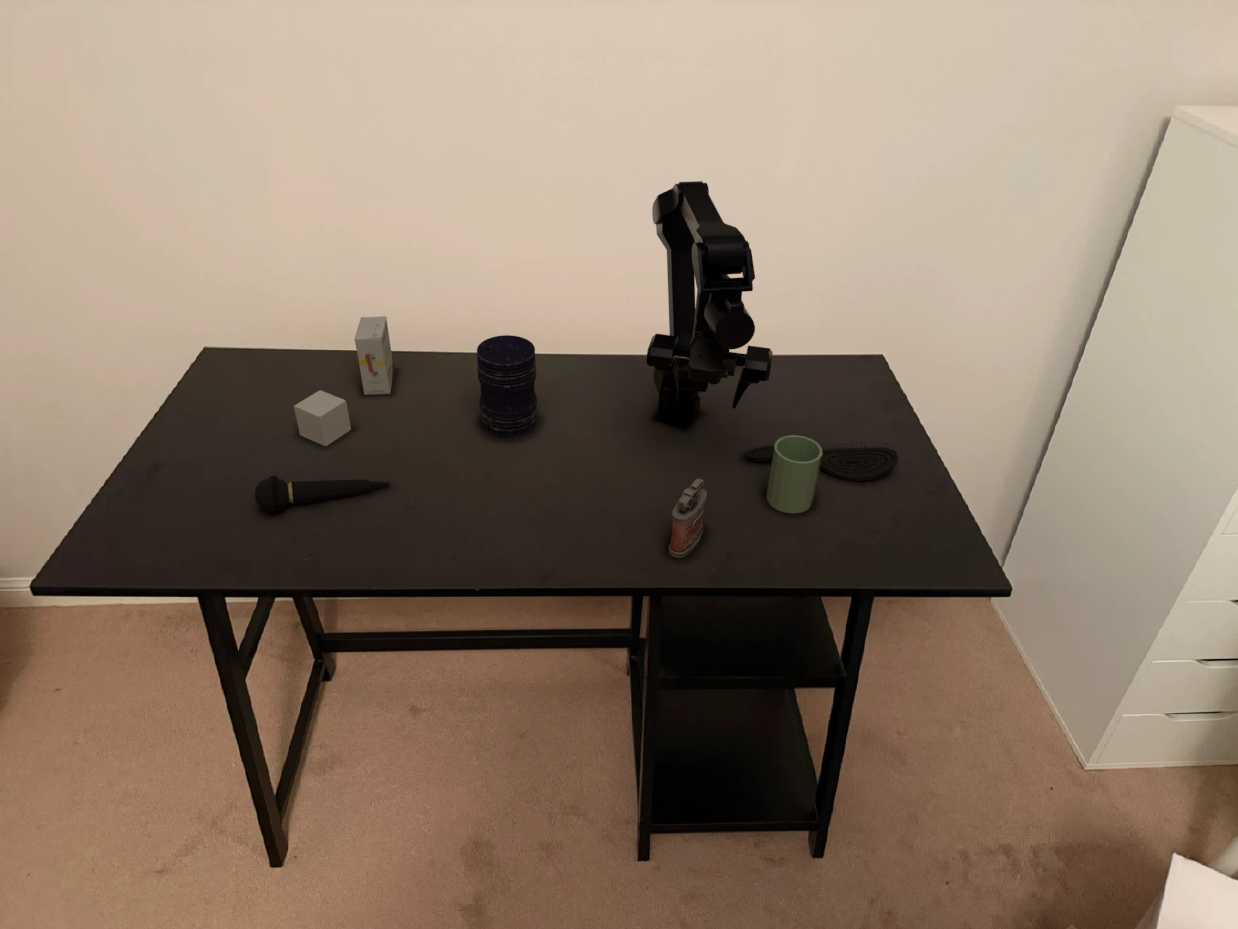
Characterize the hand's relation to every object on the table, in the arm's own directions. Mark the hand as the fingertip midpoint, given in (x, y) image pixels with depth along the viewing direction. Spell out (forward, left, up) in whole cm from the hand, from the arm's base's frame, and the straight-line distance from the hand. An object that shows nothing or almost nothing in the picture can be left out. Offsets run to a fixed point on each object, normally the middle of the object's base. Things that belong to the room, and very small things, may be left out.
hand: (704, 403), depth 147 cm
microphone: (-46, -39, -13) cm, 62 cm away
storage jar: (-34, -6, -13) cm, 37 cm away
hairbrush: (+17, +12, -13) cm, 25 cm away
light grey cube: (-59, -25, -13) cm, 65 cm away
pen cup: (+16, +1, -13) cm, 21 cm away
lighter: (+6, -17, -13) cm, 23 cm away
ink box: (-62, -8, -13) cm, 64 cm away
